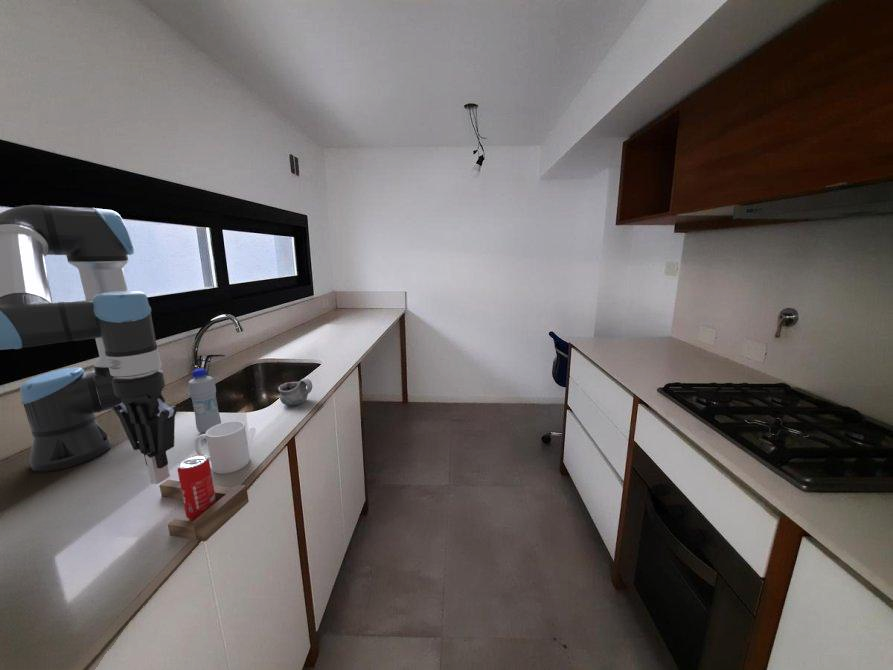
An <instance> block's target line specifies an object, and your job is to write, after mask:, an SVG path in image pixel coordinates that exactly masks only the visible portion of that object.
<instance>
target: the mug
mask: <svg viewBox="0 0 893 670" xmlns="http://www.w3.org/2000/svg"><path fill="white" fill-rule="evenodd" d="M277 389H278V391H279V400H280V402H281V404H282V405H284V406H288V407H295V406H299V405H301V404H303V403H304V402H305V401H306V400H307V399H308V396H309V394H310V393H311V392H312V389H313V382H312V381H311V379H309V378H306V377H305V378H302V379H300V380H299V381H291V382H290V381H289V382H285V383H282V384H280V385H279V386H278V387H277Z"/></svg>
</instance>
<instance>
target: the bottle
mask: <svg viewBox="0 0 893 670" xmlns="http://www.w3.org/2000/svg"><path fill="white" fill-rule="evenodd" d="M216 388H217V386H216V384H215V381H214V379H213V377H212V376H210V375H208V374H207V370H206V369H205V368H196V369H194V370H193V371H192V379H190V380H189V381H188V393H189V397H190V398H191V401H192V407H193V413H194V416H195V417H194V418H195V426H196V430H197V431H198V433H199V434H200V435H202V434H206V431H207V430H208V429H210V428H211V427H213V426H215V425H218V424H221V423H222V419H221V415H220V412H219V408H218V407H219V406H218V401H217V400H218V399H217V396H216V393H217V389H216Z"/></svg>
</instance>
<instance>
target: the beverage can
mask: <svg viewBox="0 0 893 670" xmlns="http://www.w3.org/2000/svg"><path fill="white" fill-rule="evenodd" d="M177 475H178V479H179V480H178V481H180V486H181V492H182V497H183V500H182V502H183V506H184V512H185V517H186V518H187V519H188V521H194V520H195V519H196V518H198V517H199V516H200V515H201V514H203V513H204V512H205V511H206V510H207V509H209V508H210V507H211V506H212V505H214V504H215V503H216V499H215V493H214V487H213V485H214V482H213V481H214V480H213V477H212V467H211V461H209V460H208V459H207V457H206V456H204V455H194V456H191V457H187V458H185V459H183V460H182V461H181V462H179V464H178V467H177Z"/></svg>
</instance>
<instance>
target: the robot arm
mask: <svg viewBox="0 0 893 670" xmlns="http://www.w3.org/2000/svg"><path fill="white" fill-rule="evenodd" d="M134 253H135V250H134V247H133V242H132V239H131V235H130V233H129V230H128V228H127V226H126V224H125V221H124V220H123V217H121V214H119V213H118V212H117V211H114V210H112V209H106V208H105V209H103V208H97V207H96V208H95V207H79V206H77V207H75V206H74V207H73V206H59V205H58V206H57V205H41V204H29V205H20V206H15V207H11V208H9V209H6V210H4V211H2V212H0V351H1V350H2V351H3V350H12V349H14V350H19V349H23V348H24V349H25V348H31V347H38V346H44V345H47V346H48V345H52V344H58V343H66V342H67V343H68V342H76V341H83V340H92V339H95V342H96V343H95V344H96V347H97V351H98V356H99V357H98V358H97V359H96V361H94V362H93V367H94V369H93V370H88V371H85V369H84V368H82V367H80V366H74V367H67V368H62V369H61V368H60V369H57V370H53V371H50V372H47V373H46V372H45V373H44V374H39V375H37V376H35V377H32V378H29V379H28V380H26V381H25V382H23V383H22V384H21V385H20V387H19V392H20V398H21V401H20V403H21V404H22V405H23V408H24V412H25V415H26V417H27V421H28V424H29V429H30V430H31V435H32V438H33V439H32V444H31V448H30V455H29V460H28V462H29V464H30V465H29V466H30V468H31V470H32V471H34V472H43V473H44V472H51V471H59V470H63V469H67V468H70V467H75V466H78V465H80V464H83V463H86V462H88V461H90V460H93V459H95V458H98V457H99V456H101V455H103V454H104V453H106V452H107V451H108V450H109V449H110V448H112V447H111V446H112V443H111V442H112V441H111V439H110V436H109V434H108V433H107V432H106V431H105V430H104V429H103V427H101V425H100V424H99V423H98V422H97V420H96V416H95V414H97V413H101V412H105V411H110V410H113V411H114V413H115V414H116V415H117V417H118V418H119V421H120V423H121V426H122V428H123V429H124V432H125V433H126V437H127V439H128V441H129V444H130V446H131V448H132V449H133V450H134V451H138V450H139V451H140V453H141V455H143V457H144V461H145V465H146V467H147V469H148V475H149V479H150V484H152V485H158V484H159V485H160V484H161V483H163V482H164V481H166V480H168V478H170V477H171V475H170V472H169V466H168V465H169V461H168V455H167V451H169V450H171V449H173V448H174V447H175V423H176V420H175V419H176V415H177V412H178V407H177V406H176V405H173V406H170V405H168V404H167V403H166V400H165V398H164V396H163V394H162V391H163V389H164V388H165V387H166V383H165V377H164V372H163V370H162V369H161V368H162V365H163V364H162V361H161V356H160V351H159V347H158V343H157V341H156V334H155V328H154V323H153V318H152V307H151V306H150V304H149V300H148V296H147V294H146V293H145V292H143V291H139V290H138V291H136V290H128V287H127V282H126V277H125V272H124V267H125V266H126V265H127V264H128V262H129V256H131V255H134ZM46 256H65V257H66V258H67V263H68V264H70V265H72V266H74V267H75V268H77V271H78V273H79V277H80V282H81V285H82V290H83V294H84V297H85V299H84V300H83V299H82V300H74V301H73V300H72V301H71V300H70V301H57V302H53V299H52V298H53V297H52V292H51V287H50V283H49V282H50V281H49V277H48V272H47V267H46V262H45V257H46Z"/></svg>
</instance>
